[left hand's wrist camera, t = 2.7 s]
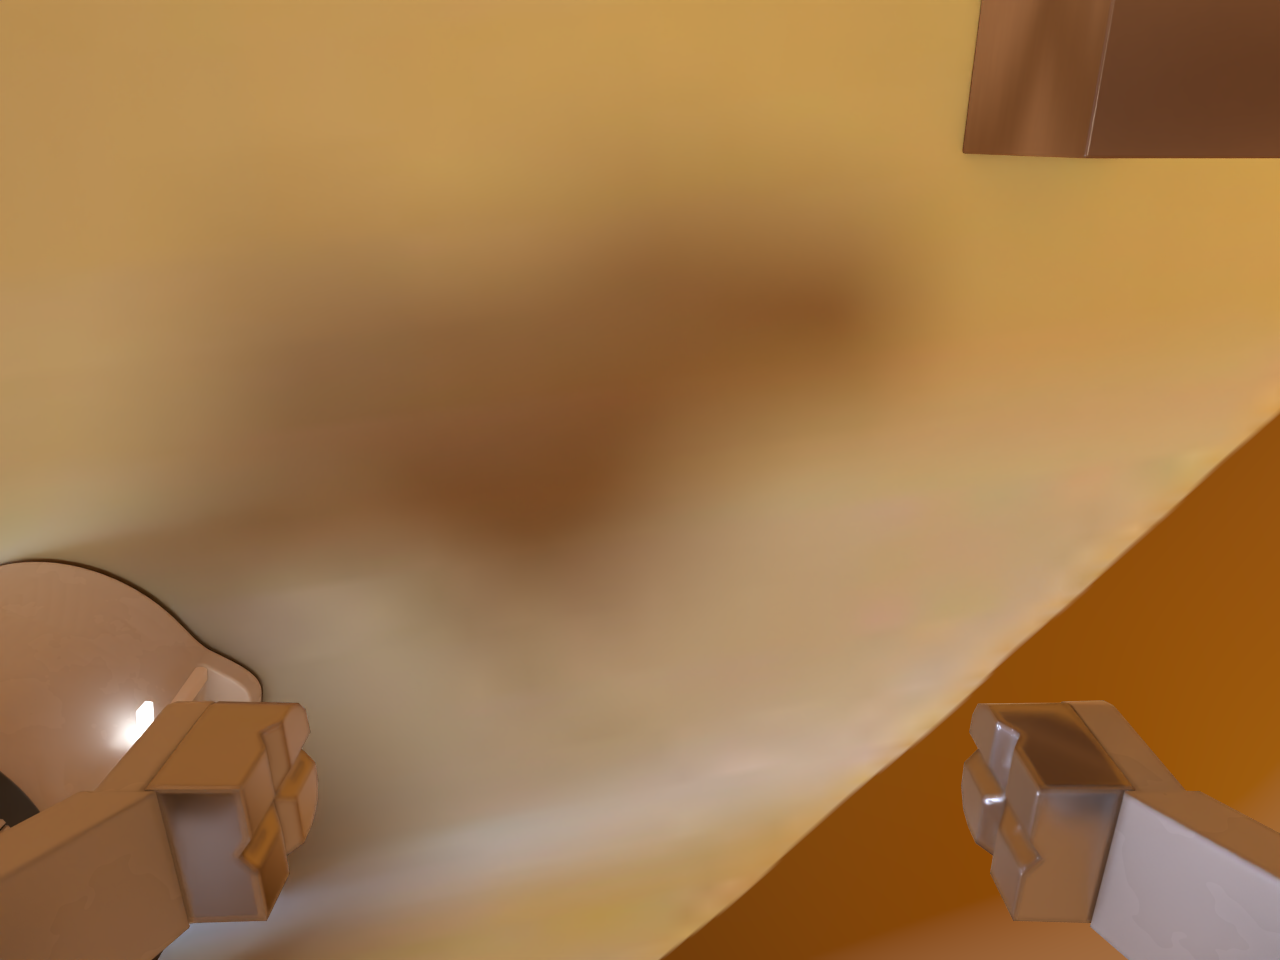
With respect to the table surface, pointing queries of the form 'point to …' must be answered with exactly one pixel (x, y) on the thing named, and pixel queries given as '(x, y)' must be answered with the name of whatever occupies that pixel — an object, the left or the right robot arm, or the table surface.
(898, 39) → the table surface
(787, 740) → the table surface
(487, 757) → the table surface
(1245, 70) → the box
